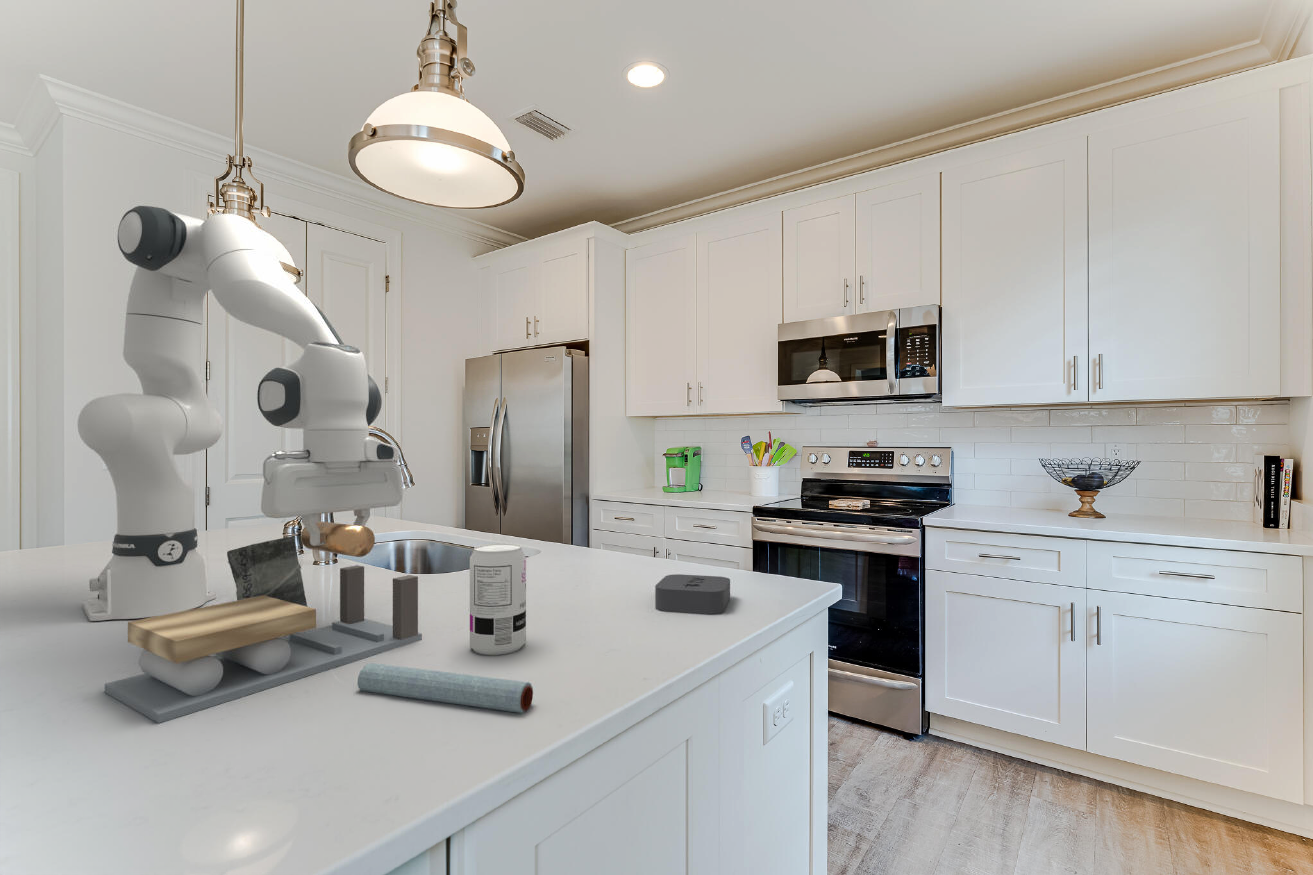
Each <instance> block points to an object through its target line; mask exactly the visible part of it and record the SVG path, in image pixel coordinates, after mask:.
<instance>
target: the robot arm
mask: <svg viewBox="0 0 1313 875" xmlns="http://www.w3.org/2000/svg"><path fill="white" fill-rule="evenodd" d="M117 228H118V229H117V244H118V248H119V251H121V254H122V256H123V257H124V258H125V259H126V260H127V261H128V262H130V263H131V264H133V265H134V266H137V267H136V269H135V272H134V275H133V277H132V281H131V284H130V287H129V292H128V297H127V303H126V309H125V311H126V312H125V322H124V333H123V334H124V335H123V336H124V337H123V350H122V356H123V359H124V361H125V363H126V364H127V365H128V366H129V367H130V368H131V369H132V370H133V371H134V372H135V374H136V375H137V377H138V379H139V382H140V384H141V385H140V386H141V390H142V394H141V393H131V392H130V393H129V392H128V393H127V392H126V393H125V392H124V393H117V394H110V395H105V396H100V397H97V398H94V399H91V400H90V401H89V402H87V403H86V404H85V405H84V406H83V408H82V409H80V410H81V411H80V413H79V414H78V418H77V431H78V434H79V437H80V439H81V441H82V442H83V443H84V444H85V445H86V446H87V447H88V448H89V449H91V450H92V451H93V452H95V453H96V454H97V455H98V456H99V457H100V458H101V460H102V461H103V463H104V464H105V466H106V468H107V470H108V472H109V474H110V477H111V479H112V483H113V486H114V490H115V497H116V519H117V521H116V522H117V523H116V525H117V526H116V527H117V533H116V534H114V538H113V541H112V550H111V553H112V554H113V555H112V558H111V559H110V560H109V562H108V563H107V564H106V565H105V567H104V568H103V569H102V570H101V572H100V573H99V575H98V576H97V577H95V578H90V579H89V592H98V593H97V597H94V598H90V599H86V600H84V601H83V602H82V609H83V610H84V613H85V615H86V617H87V618H88V621H90V622H98V621H99V622H101V621H107V620H109V621H110V620H130V619H134V620H135V619H146V618H151V617H156V616H161V615H166V614H171V613H176V612H181V611H186V610H191V609H197V608H200V607H201V606H203V605H204V604H205V603H206V602H208V601H212V600H215V599H216V598H217V596H216V592H214V591H209V589H208V588H209V586H208V575H207V563H206V558H205V556H203V555H202V554H201V553H199V552H198V551H197V550H196V548H198V540H199V535H198V529H196V528H195V489H194V487H193V485H192V484H191V483H190V482H189V481H188V480H186V479H185V478H184V477H183V476H182V475H181V473H180V471H179V469H178V467H177V464H176V460H175V456H179V455H180V456H181V455H190V454H194V453H198V452H201V451H204V450H206V449H207V450H208V449H210V448H211V447H213V446H214V445H215V444H216V443H217V442H218V441H219V440H220V439H221V436H222V433H223V430H224V429H223V428H224V425H223V423H224V422H223V419H222V415H221V414H220V413H219V412H218V410H217V409H216V408H215V407H214V406H213V405H212V403H211V401H210V399H209V396H208V395H207V391H206V388H205V384H204V381H203V376H202V371H201V368H202V367H201V348H202V330H203V320H204V319H203V314H204V313H203V312H204V310H203V306H204V300H205V297H206V295H207V293H208V292H209V291H211V292H212V294H213V296H214V298H215V299H216V301H217V302H218V304H219V305H220V306H221V307H222V308H223V309H224V311H225V312H226V313H227V314H229V315H230V316H231V317H232V318H234V319H235V320H238V321H240V322H242V323H244V324H247V325H249V326H253V327H256V328H259V329H262V330H265V331H268V332H271V333H274V334H276V335H278V336H282V337H284V339H288V340H290V341H292V342H293V343H295V344H296V345H298V346H299V347H300V348H301V349H303V350H304V351H303V353H302V354H301V356H300V357H298V358H296V359H295V360H294V361H292V362H290V363H288V364H286V365H284V366H281V367H275V368H273V369H271V370H270V371H268V372H267V373H266V374H265V375H264V376H263V377H262V379H261V380H260V381H259V384H258V387H257V394H256V395H257V396H256V397H257V406H258V409H259V411H260V413H261V414H262V416H263V417H264V419H265V420H266V422H267V421H268V423H270V424H271V425H272V426H274V427H278V428H284V429H297V430H298V429H301V430H302V429H303V430H302V434H303V435H302V437H303V439H302V441H303V442H302V444H303V445H302V446H303V449H302V450H292V451H284V450H283V451H282V450H278V451H275V452H273V453H272V454H271V455H268V456H267V457H266V458H265V459H264V461H263V464H262V477H263V486H262V490H261V491H262V493H261V503H260V510H261V512H262V514H263V515H265V516H266V518H271V519H285V518H286V519H287V518H293V517H301V523H302V524H303V526H304V527H305V528H306V529H307V531H308V532H309V533H310V544H311V545H314V546H317V545H323V544H326V539H325V538H326V532H320V530H319V528H318V527H317V525H316V523H315V522H319V521H320V515H322V514H331V513H341V512H351V511H353V515H354V517H356V518H355V520H354V522H353V525H356V526H364V527H366V524H367V522H368V520H369V518H370V517H371V509H378V508H380V509H381V508H389V507H397V506H399V504H400V503H401V501H402V500H403V476H402V470H401V467H400V464H398V463H397V462H396V461H397V460H399V457H400V449H399V448H398V447H396V446H395V445H392V444H388V443H385V442H382V441H380V440H377V439H374V438H372V437H370V431H369V428H370V426H371V425H372V424H373V423H374V422H375V420H376V419H377V417H378V416H379V415H380V412H381V410H382V403H383V402H382V395H381V391H380V389H379V387H378V385H377V384H376V382H375V381H374V379H373V377H371V375H369V373H368V368H367V362H366V359H365V356H364V353H363V351H362V350H360V349H359V348H357V347H355V346H351V345H346V344H345V343H344V342H343V341H342V339H341V337H340V336H339V334H338V332H337V331H336V329H335V328H334V327H333V326H332V323H331V322H330V321H329V320H328V318H327V317H326V315H325V314H324V313H323V312H322V310H321V309H320V308H319V307H318V306H317V305H316V304H315V303H313V301H311V300H310V299H309V298H308V297H307V296H306V295H305V294H304V293H303V292H302V291H301V290H300V289H299V288H298V287H297V286H296V285H295V283H293V281H292V280H291V278H290V277H289V276H288V274H287V273H286V271H285V270H284V268H283V267H282V265H281V263H280V261H279V259H278V256H277V255H276V253H275V251H274V249H273V248H272V246H271V244H270V243H269V241H268V240H267V239H266V237H265V236H264V235H263V234H262V232H261V231H260V229H259V228H258V227H257V226H256V225H255V224H254V223H253V222H252V221H251V220H249V219H248V218H245V217H243V216H241V215H238V214H234V213H221V214H215V215H213V216H210V217H208V218H207V219H204V218H197V217H194V216H189V215H185V214H182V213H178V212H172V211H169V210H167V209H165V208H163V207H158V206H151V205H137V206H135V207H133V208H131V209H129V210H127V211H126V212H125V213H124V214H123V216H122V218H121V220H120V223H119V226H118V227H117Z"/></svg>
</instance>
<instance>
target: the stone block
mask: <svg viewBox="0 0 1313 875" xmlns="http://www.w3.org/2000/svg"><path fill="white" fill-rule="evenodd" d="M226 553H227V554H226V556H227V560H228V561H227V562H228V564H229V567H230V570H231V574H232V577H233V580H234V583H235V587H236V592H235V596H236V601H237V600H242V599H247V598H252V597H257V596H262V595H264V596H268V597H272V598H276V599H279V600H283V601H287V602H291V603H295V604H298V605H302V606H306V607H308V603H307V598H306V592H305V587H304V582H303V575H302V571H301V570H302V565H301V564H300V562H299V557H298V552H297V547H296V540H295V536H294V535H293V536H287V537H281V538H277V539H276V538H275V539H272V540H267V541H263V542H258V543H257V542H256V543H252V544H249V545H245V546H241V547H239V548H233V549H231V550H227V551H226Z"/></svg>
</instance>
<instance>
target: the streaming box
mask: <svg viewBox="0 0 1313 875" xmlns="http://www.w3.org/2000/svg"><path fill="white" fill-rule="evenodd" d="M654 587H655V591H654V592H655V593H654V594H655V600H654V601H655V602H654V604H655V607H654V609H655V610H656V611H659V612H663V613H675V614H678V613H679V614H690V615H691V614H692V615H702V616H703V615H704V616H715V615H716V616H718V615H721V614H724V613H725V611H726V610H727V608H728V606H729V604H730V602H731V579H730V578H729V577H725V576H719V575H718V576H714V575H713V576H712V575H701V574H700V575H699V574H697V575H695V574H678V573H677V574H674V573H673V574H667V575H665V576H664V577H663V578H662V579H661V580H660V581H659V582H657V583H656V584H655V586H654Z"/></svg>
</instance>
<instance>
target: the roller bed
mask: <svg viewBox="0 0 1313 875" xmlns="http://www.w3.org/2000/svg"><path fill="white" fill-rule="evenodd" d="M422 639H423V634H422V633H421V632H419V577H418V576H417V575H411V574H408V575H407V574H406V575H404V576H398V577H394V578H392V625H391V624H386V623H383V622H378V621H376V620H375V621H374V620H371V619H369V618H365V566H363V565H358V564H357V565H353V566H352V565H351V566H345V567H341V568H339V621H338V620H337V621H334V622H331V625H328V626H324V627H320V628H317V629H316V628H315V629H311V630H309V631H308V630H307V631H303V632H297V633H293V634H289V635H287V636H285V637H282V638H281V637H278V638H274V639H270V640H266V641H262V642H258V643H254V644H250V645H246V646H242V647H238V648H235V649H231V650H227V651H223V652H219V653H215V654H214V655H207V656H203V657H199V658H195V659H191V660H187V661H184V662H180V663H174V662H172V661H170V660H167V659H165V658H163V657H161V656H158V655H156V654H154V653H152V652H149V651H147V650H145V649H142V652H141V653H140V656H139V657H138V658H139V659H138V666H139V668H140V671H141V672H143V673H142V674H137V675H134V676H130V677H127V678H122V679H118V680H114V681H110V682H107V683H104V692H105V693H106V695H107V694H108V695H109V696H111V697H113V698H114V699H116V700H118V701H120V702H121V703H123V704H124V705H126V706H128V707H130V708H132V709H133V710H135V711H136V712H138V713H140V714H142V715H143V716H146V717H147V718H149V719H151V720H152V721H154V722H156V723H158V724H160V723H164V722H167V721H170V720H174V719H178V718H179V717H183V716H186V715H189V714H192V713H195V712H199V711H202V710H205V709H209V708H212V707H215V706H216V705H221V704H224V703H227V702H231V701H234V700H237V699H240V698H243V697H246V696H249V695H252V694H255V693H258V692H259V693H260V692H262V691H265V690H269V689H272V688H275V687H278V686H281V685H284V684H287V683H290V682H294V681H297V680H300V679H302V678H306V677H309V676H313V675H316V674H319V673H322V672H325V671H329V670H331V669H335V668H337V667H340V666H344V665H347V664H350V663H351V664H352V663H353V662H357V661H360V660H363V659H366V658H369V657H373V656H375V655H378V654H382V653H384V652H385V653H386V652H388V651H389V652H390V651H392V650H393V649H398V648H400V647H403V646H406V645H410V644H412V643H416V642H419V641H422Z"/></svg>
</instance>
